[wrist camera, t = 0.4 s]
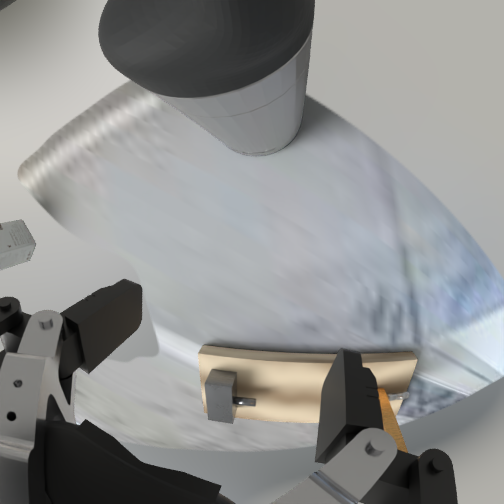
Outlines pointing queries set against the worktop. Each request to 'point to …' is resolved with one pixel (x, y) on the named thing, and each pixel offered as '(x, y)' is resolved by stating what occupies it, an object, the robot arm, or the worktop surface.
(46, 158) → the worktop surface
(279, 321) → the worktop surface
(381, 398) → the upright wooden paddle
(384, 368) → the rail board
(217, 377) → the gray rectangular block
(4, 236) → the skincare box
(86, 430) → the robot arm
